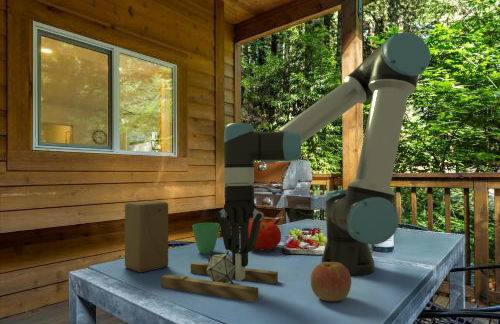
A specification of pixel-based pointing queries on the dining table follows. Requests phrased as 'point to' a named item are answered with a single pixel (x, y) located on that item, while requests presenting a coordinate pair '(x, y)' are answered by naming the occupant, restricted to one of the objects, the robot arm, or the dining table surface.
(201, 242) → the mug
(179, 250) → the dining table surface
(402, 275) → the dining table surface
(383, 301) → the dining table surface
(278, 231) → the tomato
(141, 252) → the wooden block
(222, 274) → the game die
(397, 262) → the dining table surface
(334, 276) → the apple
